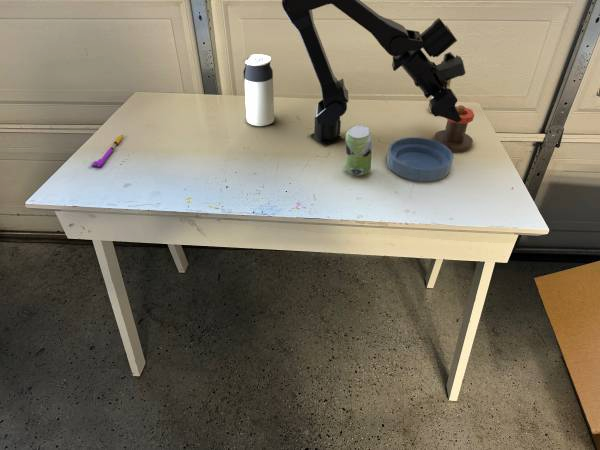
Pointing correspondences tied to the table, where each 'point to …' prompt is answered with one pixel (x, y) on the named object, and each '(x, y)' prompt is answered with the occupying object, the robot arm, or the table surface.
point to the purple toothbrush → (107, 153)
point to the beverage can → (358, 150)
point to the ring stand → (455, 135)
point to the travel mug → (259, 90)
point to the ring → (465, 116)
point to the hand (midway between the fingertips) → (456, 113)
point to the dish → (419, 158)
